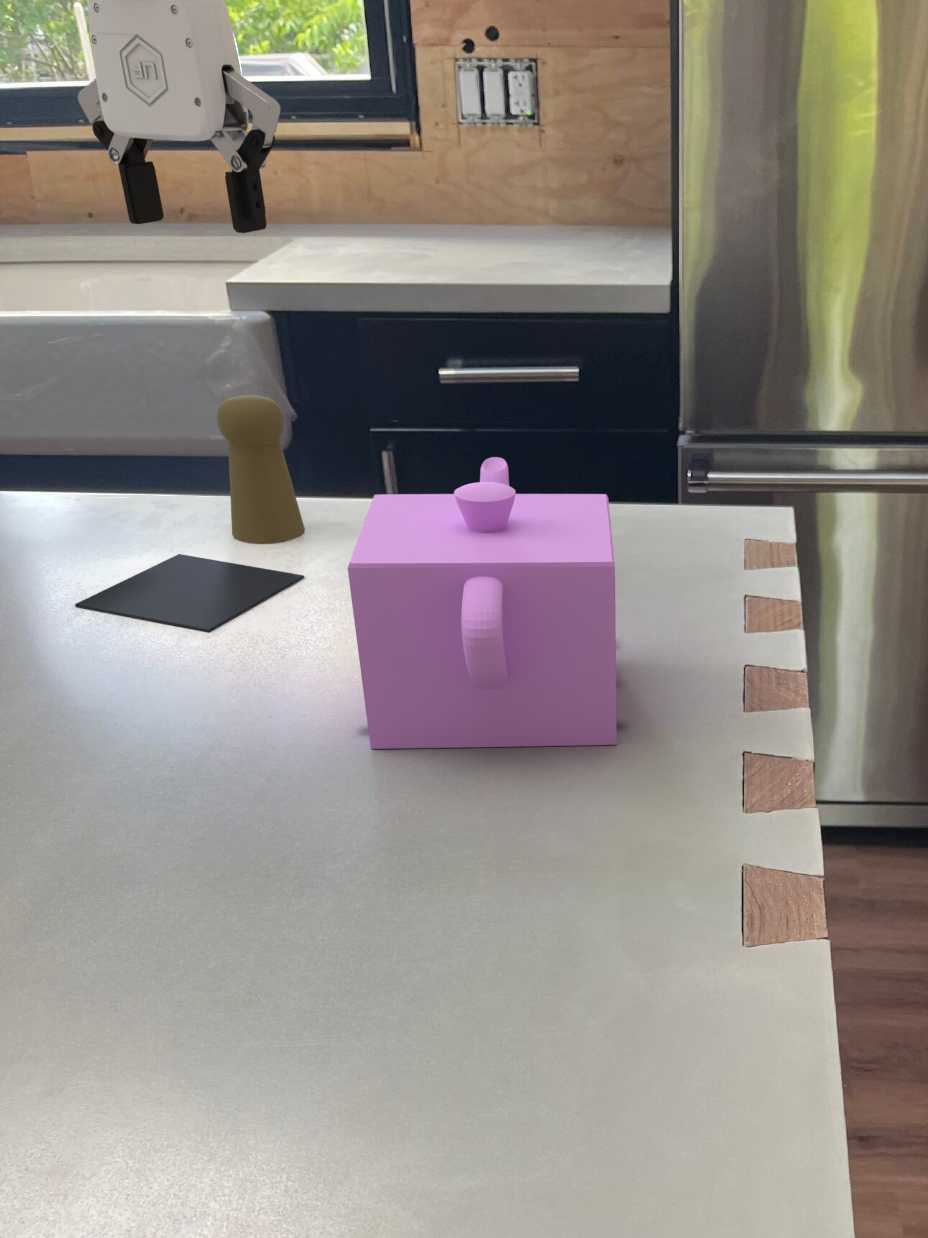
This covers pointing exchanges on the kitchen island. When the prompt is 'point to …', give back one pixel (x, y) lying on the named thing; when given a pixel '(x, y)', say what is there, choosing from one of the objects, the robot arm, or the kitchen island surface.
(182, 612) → the mat
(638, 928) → the kitchen island surface
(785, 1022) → the kitchen island surface
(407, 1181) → the kitchen island surface
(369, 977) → the kitchen island surface
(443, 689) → the teapot
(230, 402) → the cork
